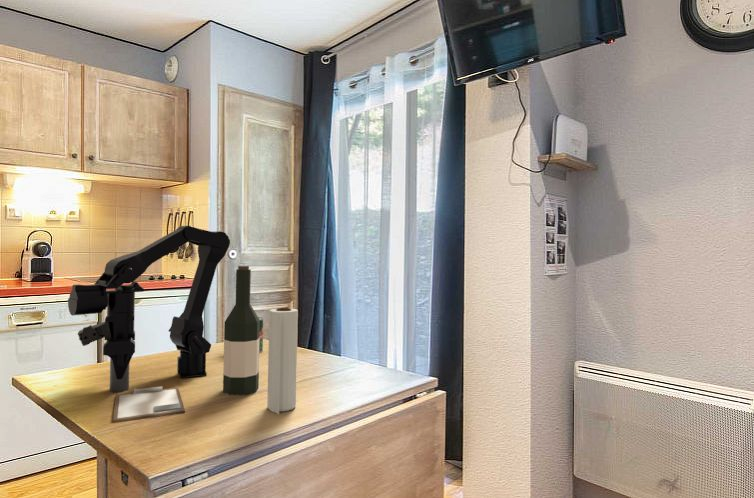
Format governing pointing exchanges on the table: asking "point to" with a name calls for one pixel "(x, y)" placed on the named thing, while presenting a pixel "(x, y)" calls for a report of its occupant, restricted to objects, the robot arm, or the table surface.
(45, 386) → the table surface
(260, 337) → the canned tomato
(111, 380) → the water bottle
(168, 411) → the clipboard
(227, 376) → the wine bottle
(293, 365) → the paper towel roll
